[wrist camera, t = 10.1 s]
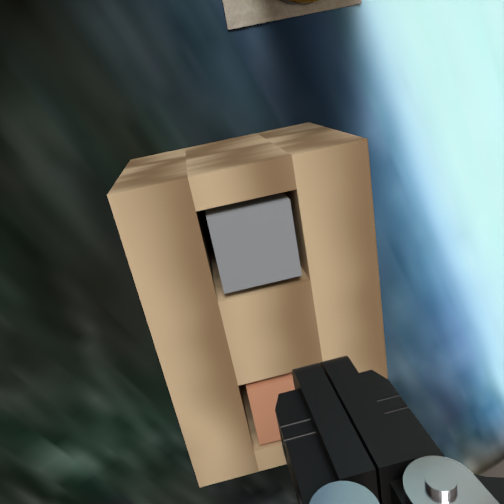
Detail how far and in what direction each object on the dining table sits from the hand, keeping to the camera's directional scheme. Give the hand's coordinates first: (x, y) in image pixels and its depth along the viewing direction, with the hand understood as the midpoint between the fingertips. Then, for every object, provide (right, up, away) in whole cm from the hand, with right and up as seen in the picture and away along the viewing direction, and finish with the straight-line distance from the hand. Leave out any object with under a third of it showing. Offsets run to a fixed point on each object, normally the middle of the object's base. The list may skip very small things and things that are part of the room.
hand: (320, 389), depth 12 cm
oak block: (-2, +3, +21) cm, 21 cm away
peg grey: (-3, +7, +17) cm, 18 cm away
